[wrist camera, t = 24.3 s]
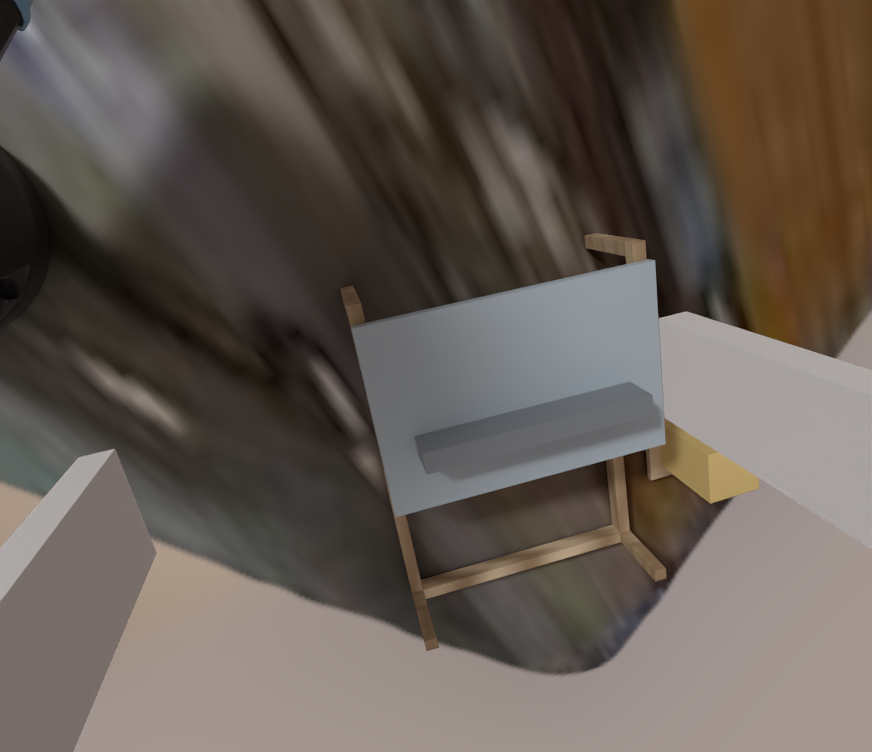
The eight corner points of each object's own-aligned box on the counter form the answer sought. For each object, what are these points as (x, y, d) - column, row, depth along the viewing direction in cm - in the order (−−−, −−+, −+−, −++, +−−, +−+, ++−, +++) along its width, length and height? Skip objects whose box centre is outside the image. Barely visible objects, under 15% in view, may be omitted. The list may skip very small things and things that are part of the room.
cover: (394, 511, 43) (401, 540, 39) (350, 326, 38) (354, 339, 35) (659, 439, 46) (689, 460, 42) (648, 259, 41) (680, 265, 38)
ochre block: (662, 466, 55) (710, 503, 49) (659, 423, 54) (707, 455, 47) (706, 453, 56) (759, 488, 49) (704, 410, 54) (758, 440, 48)
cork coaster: (647, 477, 56) (651, 480, 56) (642, 410, 54) (646, 412, 53) (714, 458, 57) (718, 461, 56) (712, 391, 55) (716, 393, 54)
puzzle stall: (411, 591, 54) (426, 651, 47) (339, 288, 45) (345, 306, 38) (622, 530, 57) (666, 578, 50) (596, 233, 48) (645, 240, 41)
